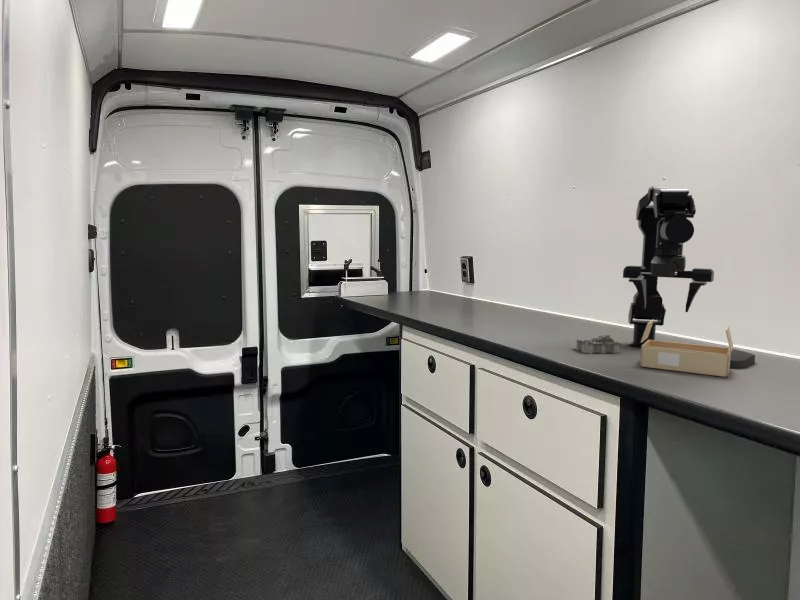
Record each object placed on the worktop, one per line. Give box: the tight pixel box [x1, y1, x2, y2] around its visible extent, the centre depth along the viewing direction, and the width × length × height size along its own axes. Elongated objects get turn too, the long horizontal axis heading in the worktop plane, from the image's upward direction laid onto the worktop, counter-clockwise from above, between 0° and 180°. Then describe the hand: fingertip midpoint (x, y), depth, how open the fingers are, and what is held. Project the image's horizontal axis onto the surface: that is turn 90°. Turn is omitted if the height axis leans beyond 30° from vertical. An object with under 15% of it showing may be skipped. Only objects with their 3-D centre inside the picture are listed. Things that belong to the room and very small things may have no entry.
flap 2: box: [725, 325, 734, 352], centre depth 129 cm, size 8×1×5 cm, turn 148°
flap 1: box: [641, 319, 655, 342], centre depth 138 cm, size 8×1×5 cm, turn 148°
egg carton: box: [574, 334, 622, 354], centre depth 154 cm, size 11×8×4 cm
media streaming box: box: [730, 348, 756, 370], centre depth 143 cm, size 15×15×3 cm
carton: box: [639, 339, 731, 378], centre depth 134 cm, size 11×18×5 cm, turn 58°
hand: (665, 310), depth 134 cm, fingers open, 9 cm apart
